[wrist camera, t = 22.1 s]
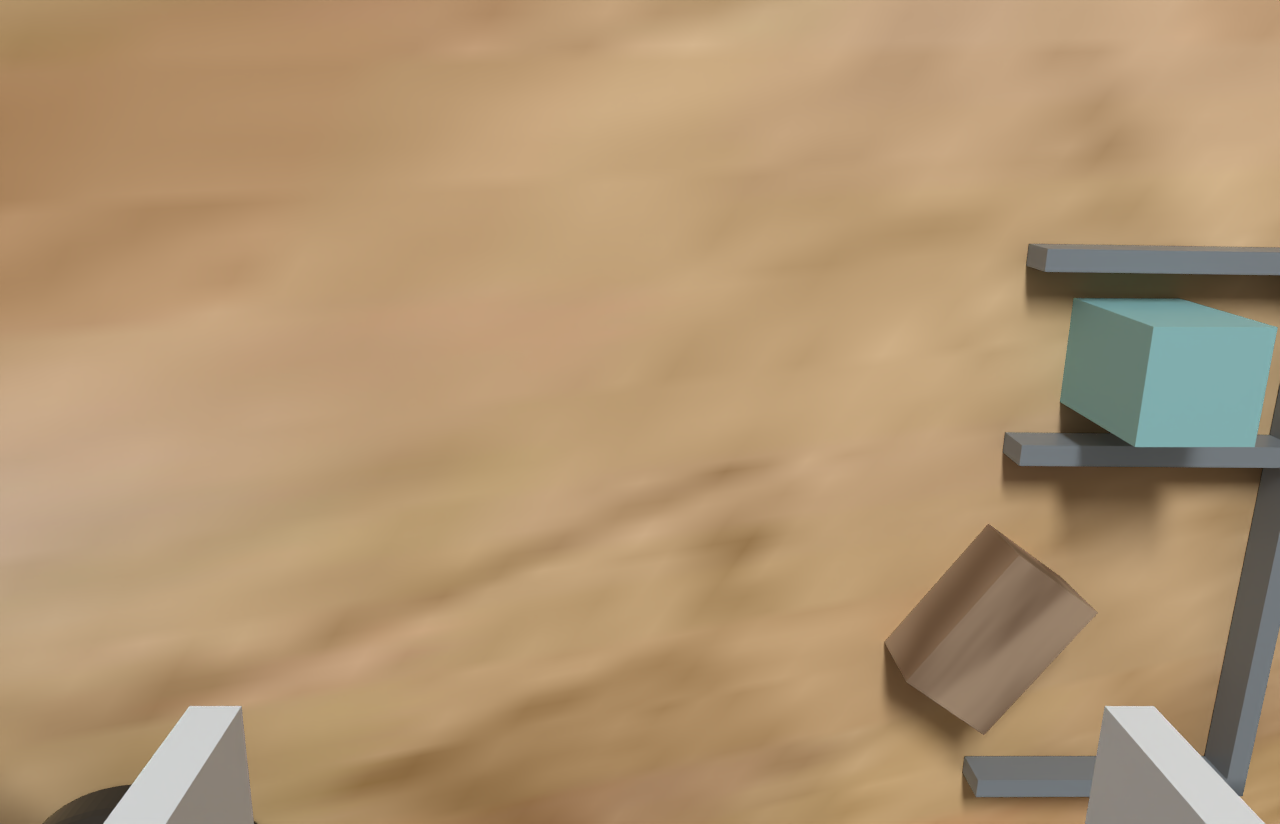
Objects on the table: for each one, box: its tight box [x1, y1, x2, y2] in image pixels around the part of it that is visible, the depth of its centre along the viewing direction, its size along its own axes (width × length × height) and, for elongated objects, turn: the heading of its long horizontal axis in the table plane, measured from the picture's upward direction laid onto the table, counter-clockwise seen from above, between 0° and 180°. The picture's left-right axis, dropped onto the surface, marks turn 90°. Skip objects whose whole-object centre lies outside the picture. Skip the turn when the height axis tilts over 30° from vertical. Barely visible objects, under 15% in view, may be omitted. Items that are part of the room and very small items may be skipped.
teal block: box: [1060, 298, 1278, 447], centre depth 43 cm, size 5×5×7 cm
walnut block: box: [885, 524, 1097, 735], centre depth 48 cm, size 4×8×5 cm
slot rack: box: [963, 244, 1280, 797], centre depth 48 cm, size 14×28×2 cm, turn 179°
